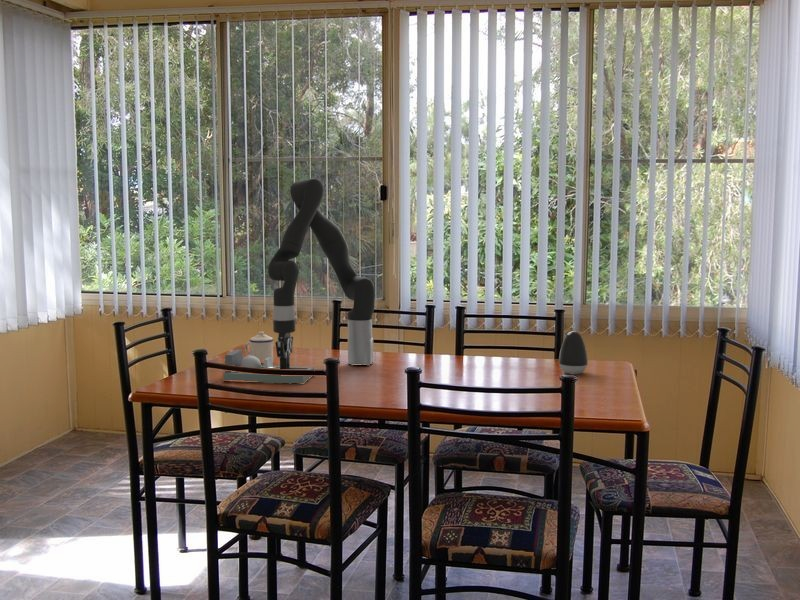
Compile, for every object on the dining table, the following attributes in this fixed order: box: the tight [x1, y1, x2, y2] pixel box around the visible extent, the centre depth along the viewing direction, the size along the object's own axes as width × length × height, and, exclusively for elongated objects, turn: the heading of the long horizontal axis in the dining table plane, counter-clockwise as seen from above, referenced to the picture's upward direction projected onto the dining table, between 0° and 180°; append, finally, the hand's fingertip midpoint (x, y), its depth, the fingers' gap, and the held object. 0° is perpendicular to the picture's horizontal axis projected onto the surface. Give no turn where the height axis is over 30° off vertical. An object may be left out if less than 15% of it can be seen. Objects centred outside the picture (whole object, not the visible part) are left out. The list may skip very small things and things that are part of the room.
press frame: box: [222, 349, 315, 385], centre depth 288 cm, size 28×15×9 cm, turn 82°
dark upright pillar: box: [263, 346, 291, 369], centre depth 288 cm, size 8×6×11 cm
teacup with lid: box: [243, 331, 274, 360], centre depth 321 cm, size 12×9×12 cm
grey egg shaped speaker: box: [558, 330, 589, 375], centre depth 298 cm, size 10×10×15 cm
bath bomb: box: [239, 355, 263, 368], centre depth 289 cm, size 8×8×8 cm
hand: (284, 367), depth 288 cm, fingers closed on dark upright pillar, 3 cm apart
